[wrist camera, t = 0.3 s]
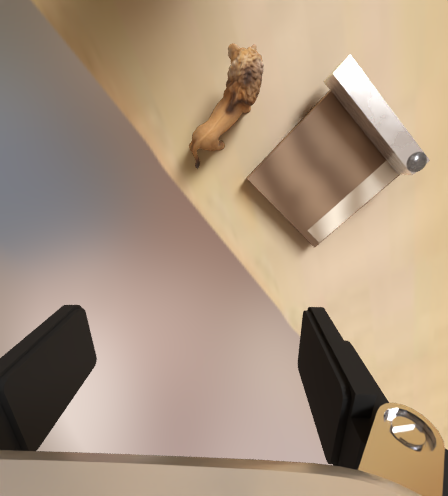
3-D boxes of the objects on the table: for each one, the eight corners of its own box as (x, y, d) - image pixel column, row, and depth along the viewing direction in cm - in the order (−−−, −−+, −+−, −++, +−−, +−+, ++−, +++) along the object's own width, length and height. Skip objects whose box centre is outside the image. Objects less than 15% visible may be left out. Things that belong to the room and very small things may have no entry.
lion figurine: (234, 59, 32) (234, 22, 24) (267, 83, 33) (279, 55, 25) (182, 159, 37) (167, 158, 28) (213, 178, 38) (206, 182, 29)
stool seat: (342, 76, 32) (350, 70, 30) (406, 159, 35) (418, 158, 33) (246, 177, 37) (247, 178, 35) (310, 242, 40) (314, 247, 38)
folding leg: (413, 161, 33) (430, 161, 30) (398, 175, 34) (413, 176, 31) (339, 64, 30) (350, 54, 27) (323, 81, 30) (332, 73, 27)
